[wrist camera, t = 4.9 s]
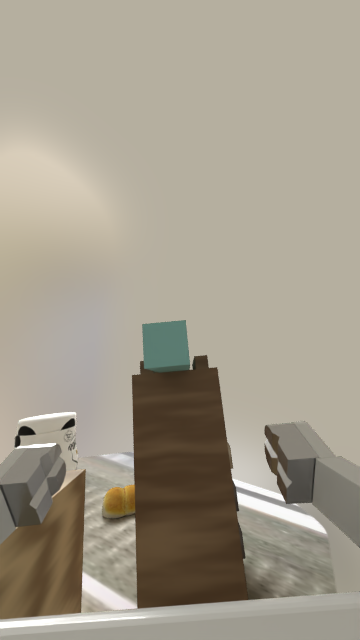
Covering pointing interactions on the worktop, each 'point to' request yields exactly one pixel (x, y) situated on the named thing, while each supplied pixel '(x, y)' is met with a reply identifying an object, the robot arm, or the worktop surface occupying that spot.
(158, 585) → the button stand
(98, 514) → the worktop surface
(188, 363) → the long teal plank
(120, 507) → the bread roll
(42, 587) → the oak block
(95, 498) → the worktop surface
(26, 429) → the milk container
